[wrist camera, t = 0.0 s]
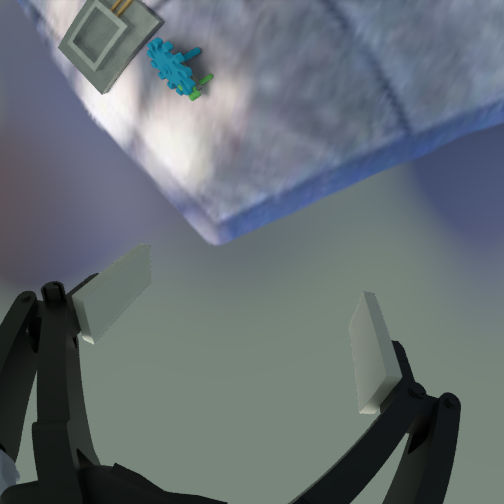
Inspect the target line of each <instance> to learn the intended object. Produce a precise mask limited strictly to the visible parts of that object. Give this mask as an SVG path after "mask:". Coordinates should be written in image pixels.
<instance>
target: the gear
mask: <svg viewBox="0 0 504 504" xmlns="http://www.w3.org/2000/svg"><path fill="white" fill-rule="evenodd" d="M147 46H148V48H149V49H150V50H148V51H147V55H148V56H149V57H151V58H152V59H153V60H152V61H151V64H152V67H154V68H157V69H158V70H160V71H161V72H159V73H158V75H159V77H160V78H161V79H162V80H163V79H164V78H167V79H168V80H169V82H168V83H167V85H168V87H169V88H170V89H171V90H172V89H173V88H175V87H177V89H176V92H177V93H178V94H179V95H181V96H182V95H183V94H185V95H189V98H190V100H192V101H194V100H195V99H197V98H198V97H199V96H201V94H200V92H199V90H200V89H202V86H201V85H202V84H204V83H205V82H207V81H209V80H210V79H212V78H213V76H212V75H211V74H209V75H207V76H206V77H204V78H203V79H201V80H200V81H198V80H197V78H196V77H195V76H194V74H193V73H192V70H191V68H189V67H188V66H187V65H186V64H185V61H187V60H189V59H190V58H192V57H194V56H195V55H197V54H199V53H200V52H201V51H200V49H199V48H198V47H196V48H195V49H193V50H191V51H189V52H188V53H186V54H184V55H182V54H181V53H180V52H179V53H177V54H176V55H172V54H171V52H170V50H172V49H173V45H172V44H171V43H170V42H169V41H167V42H166V43H164V44H163V41H162V39H160V38H158V37H157V38H156V39H154V40H152V42H150V43H148V44H147ZM192 92H193V93H192Z"/></svg>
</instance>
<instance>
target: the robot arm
mask: <svg viewBox="0 0 504 504" xmlns="http://www.w3.org/2000/svg"><path fill="white" fill-rule="evenodd" d="M150 248H151V247H150V245H147V244H142V243H140V244H138V245H137V246H136V247H134V248H133V249H132V250H130V251H129V252H127V253H126V254H125V255H123V256H122V257H120V258H119V259H118V260H116V261H115V262H114V263H113V264H111V265H110V266H109V267H107V268H106V269H105V270H103V271H102V272H101V273H100V274H99V273H96V274H93V275H91V276H89V277H88V278H86V279H85V280H84V282H81V283H80V284H79V285H77V287H75V288H74V289H72V290H71V291H70V292H69V293H67V294H65V290H64V286H63V284H62V283H61V282H58V281H53V282H49V283H47V284H45V285H44V286H43V287H42V288H41V293H42V296H43V300H44V301H40V300H37V297H36V294H35V293H34V292H33V291H25V292H22V293H21V294H19V296H17V298H16V299H15V301H14V303H13V304H12V306H11V308H10V310H9V311H8V313H7V314H6V316H5V318H4V320H3V322H2V323H1V325H0V504H227V502H223V501H218V500H214V499H210V498H207V497H202V496H199V495H190V494H180V493H172V492H167V491H164V490H162V489H161V488H159V487H158V486H156V485H154V484H153V483H152V482H150V481H149V480H147V479H146V478H145V477H143V476H142V475H140V474H138V473H136V472H134V471H131V470H129V469H127V468H125V467H123V466H121V465H119V464H117V463H115V464H114V466H113V467H112V466H105V465H101V464H100V462H99V459H98V457H97V455H96V453H95V451H94V448H93V444H92V440H91V435H90V430H89V425H88V420H87V415H86V409H85V403H84V396H83V389H82V380H81V371H80V358H79V342H78V337H77V334H78V333H79V332H80V331H81V333H82V336H83V339H84V340H86V341H88V342H90V343H92V344H95V343H96V342H97V341H98V340H99V339H100V338H101V337H102V335H103V334H104V333H105V332H106V331H107V330H108V329H109V328H110V326H111V325H112V324H113V323H114V322H115V321H116V320H117V319H118V318H119V316H120V315H121V314H122V313H123V312H124V311H125V310H126V309H127V308H128V307H129V306H130V305H131V303H133V302H134V301H135V300H136V298H137V297H138V296H139V295H140V294H141V293H142V292H143V291H144V290H145V289H146V288H147V287H148V286H149V285H150V284H151V255H150V254H151V253H150V252H151V251H150ZM26 330H27V332H26ZM348 330H349V335H350V342H351V349H352V355H353V362H354V370H355V378H356V385H357V395H358V404H359V413H363V414H364V413H365V414H374V413H375V412H376V410H377V409H378V408H379V407H380V412H381V414H380V415H379V416H378V417H377V419H376V420H375V421H374V422H373V423H372V424H371V426H370V427H369V428H368V429H367V430H366V432H365V433H364V434H363V435H362V436H361V437H360V438H359V439H358V441H357V442H356V443H355V444H354V445H353V446H352V447H351V448H350V449H349V450H348V451H347V452H346V453H345V454H344V455H343V456H342V457H341V458H340V459H339V460H338V461H337V462H336V463H335V464H334V465H333V466H332V467H331V468H330V469H329V470H328V471H327V472H326V473H325V474H324V475H322V476H321V477H320V478H319V479H318V480H317V481H315V482H314V483H313V484H312V485H311V486H310V487H308V488H307V489H306V490H305V491H304V492H302V493H301V494H300V495H299V496H297V497H296V498H295V499H293V500H292V501H291V502H290V503H288V504H350V503H351V502H352V501H353V500H354V498H355V497H356V496H357V495H358V494H359V493H360V492H361V491H362V490H363V489H364V488H365V486H366V485H367V484H368V483H369V482H370V480H371V479H372V478H373V477H374V476H375V475H376V473H377V472H378V471H379V470H380V468H381V467H382V466H383V464H384V463H385V462H386V460H387V459H388V458H389V456H390V455H391V454H392V452H393V451H394V450H395V448H396V447H397V445H398V444H399V442H400V441H401V439H402V438H403V436H404V435H405V433H409V437H408V440H407V443H406V446H405V449H404V452H403V455H402V458H401V461H400V463H399V466H398V469H397V471H396V474H395V476H394V478H393V481H392V483H391V486H390V488H389V490H388V492H387V495H386V497H385V499H384V501H383V503H382V504H443V501H444V498H445V494H446V491H447V487H448V484H449V479H450V475H451V471H452V466H453V462H454V456H455V451H456V444H457V438H458V431H459V422H460V411H461V404H460V401H459V399H458V398H457V397H456V396H455V395H454V394H452V393H448V392H447V393H444V394H443V395H441V396H440V397H439V398H435V397H432V396H429V395H427V394H426V391H425V389H424V387H423V386H422V385H420V384H419V383H417V382H415V380H414V377H413V374H412V371H411V367H410V364H409V363H408V359H407V357H406V353H405V350H404V348H403V346H402V345H401V344H400V343H399V342H398V341H392V340H391V338H390V335H389V332H388V329H387V326H386V324H385V321H384V318H383V315H382V312H381V310H380V307H379V304H378V302H377V299H376V296H375V294H374V293H371V292H366V291H363V292H362V294H361V297H360V300H359V302H358V305H357V307H356V309H355V312H354V315H353V317H352V319H351V321H350V324H349V326H348ZM36 371H37V417H38V418H37V422H34V423H33V424H32V440H33V450H34V458H35V464H36V471H37V476H38V480H37V481H33V482H28V483H23V484H17V485H16V481H18V480H19V478H20V475H19V472H18V471H17V470H16V466H15V462H16V459H17V456H18V452H19V447H20V442H21V435H22V430H23V424H24V419H25V414H26V410H27V405H28V401H29V396H30V393H31V389H32V385H33V382H34V378H35V375H36Z"/></svg>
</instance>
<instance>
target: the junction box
mask: <svg viewBox="0 0 504 504" xmlns="http://www.w3.org/2000/svg"><path fill="white" fill-rule="evenodd" d="M163 23H164V21H163V20H162V19H161V18H159V17H158V16H157V15H156V14H155V13H154V12H153V11H151V10H150V9H149V8H148V7H147V6H145V5H144V4H143V3H142V2H141V1H139V0H87V1H86V3H85V4H84V6H83V7H82V9H81V10H80V12H79V13H78V15H77V16H76V18H75V19H74V21H73V23H72V24H71V26H70V27H69V29H68V31H67V32H66V34H65V36H64V38H63V39H62V41H61V43H60V45H59V47H58V48H59V49H60V50H61V52H62V53H63V54H64V55H65V56H66V57H67V58H68V59H69V60H70V61H71V62H72V63H73V64H74V65H75V67H76V68H77V69H78V70H79V71H80V72H81V73H82V74H83V75H84V76H85V77H86V78H87V79H88V80H89V82H90V83H91V84H92V85H93V86H94V87H95V88H96V89H97V90H98V91H99V92H100V93H101V94H105V93H107V92H108V91H109V89H110V88H111V86H112V85H113V84H114V82H115V81H116V79H117V78H118V77H119V75H120V74H121V73H122V71H123V70H124V69H125V67H126V66H127V65H128V63H129V62H130V61H131V60H132V58H133V57H134V56H135V55H136V53H137V52H138V51H139V50H140V49H141V47H142V46H143V45H144V44H145V43H146V42H147V41H148V39H149V38H150V37H151V36H152V35H153V34H154V33H155V32H156V31H157V30H158V29H159V27H160V26H161V25H162V24H163Z"/></svg>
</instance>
